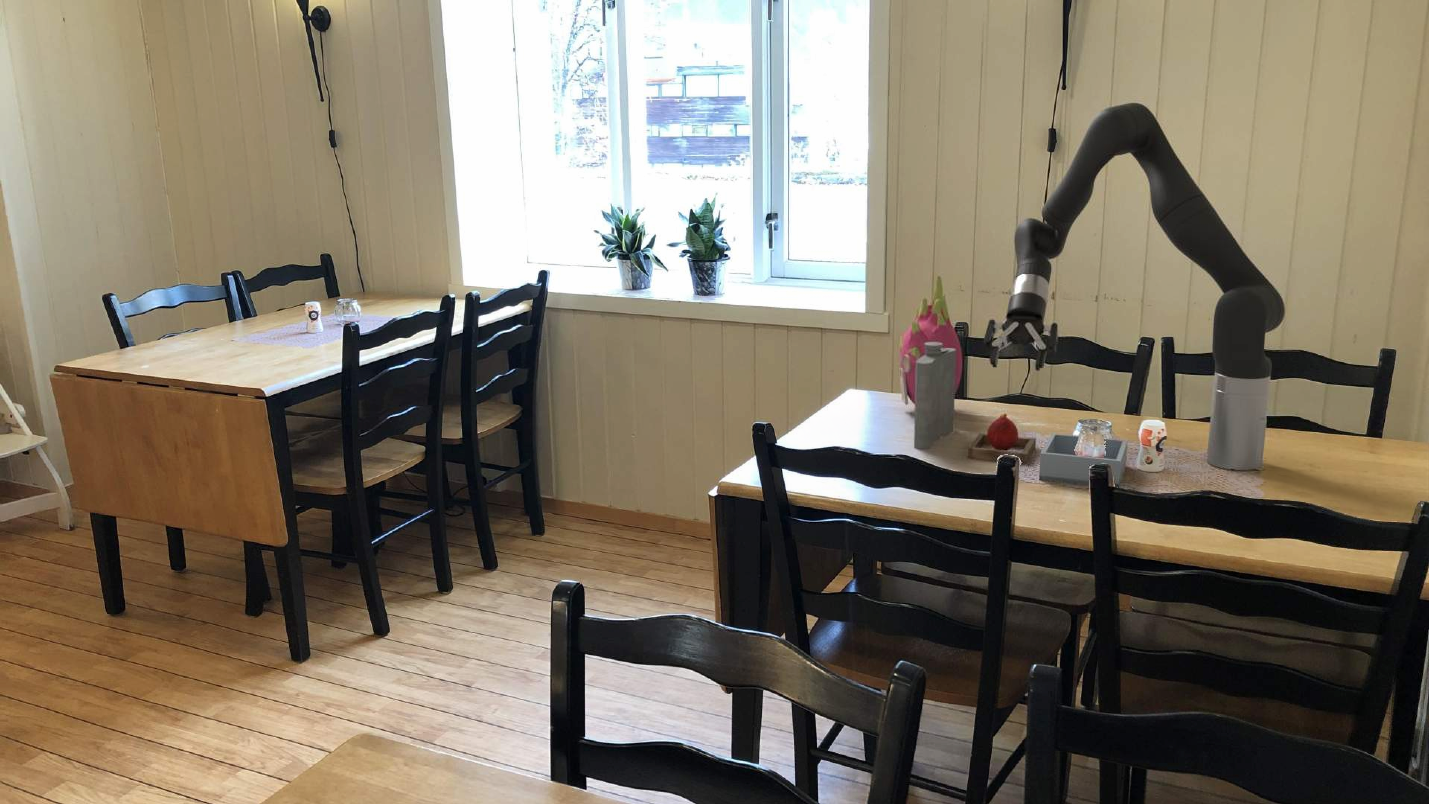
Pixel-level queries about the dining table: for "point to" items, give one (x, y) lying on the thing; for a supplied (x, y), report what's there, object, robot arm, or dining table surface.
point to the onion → (1002, 433)
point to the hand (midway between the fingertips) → (1015, 367)
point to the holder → (993, 454)
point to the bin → (1078, 460)
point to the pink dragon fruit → (927, 328)
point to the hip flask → (934, 394)
